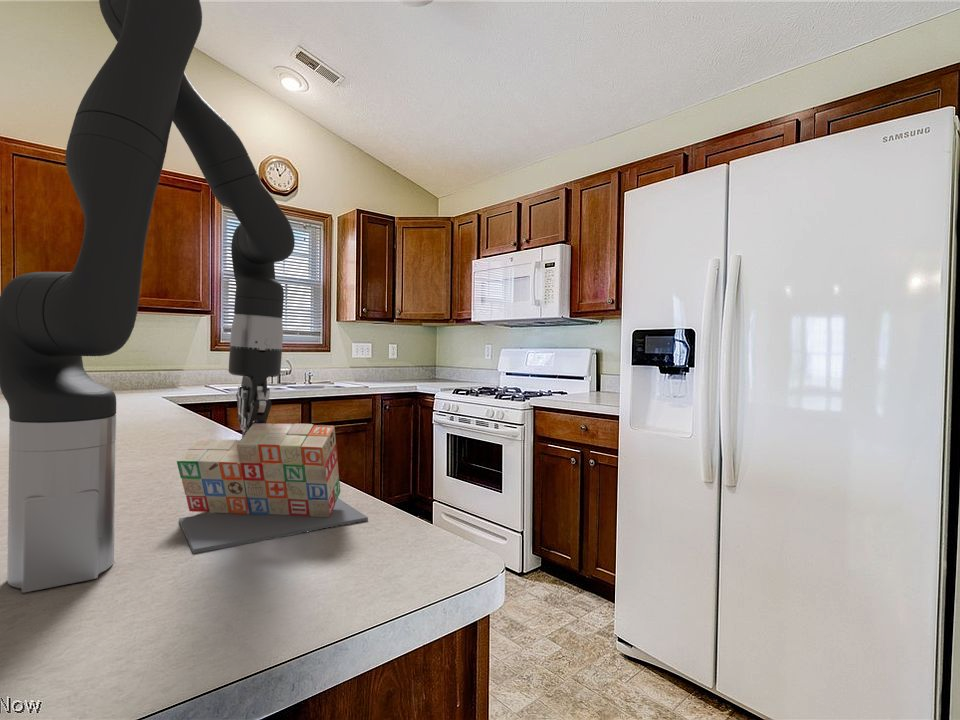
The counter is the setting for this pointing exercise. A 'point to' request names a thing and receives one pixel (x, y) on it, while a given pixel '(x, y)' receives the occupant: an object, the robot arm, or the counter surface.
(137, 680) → the counter surface
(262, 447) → the stack of blocks
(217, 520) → the mat
